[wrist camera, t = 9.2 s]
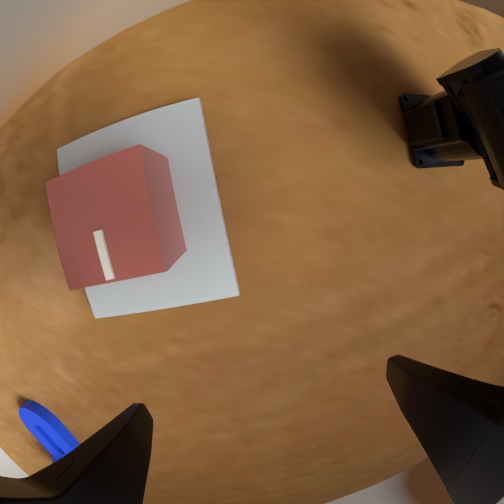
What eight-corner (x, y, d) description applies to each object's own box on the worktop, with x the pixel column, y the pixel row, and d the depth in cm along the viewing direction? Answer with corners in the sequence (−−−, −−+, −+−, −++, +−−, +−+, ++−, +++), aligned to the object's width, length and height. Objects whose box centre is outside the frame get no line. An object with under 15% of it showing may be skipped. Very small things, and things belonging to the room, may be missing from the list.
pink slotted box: (167, 157, 17) (138, 143, 11) (187, 250, 18) (165, 272, 13) (89, 183, 17) (43, 182, 11) (107, 267, 18) (68, 291, 13)
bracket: (119, 480, 26) (105, 520, 17) (85, 474, 26) (70, 509, 18) (44, 399, 22) (12, 441, 14) (17, 399, 23) (-12, 433, 14)
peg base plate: (201, 102, 17) (190, 77, 12) (239, 289, 20) (239, 316, 15) (64, 151, 17) (29, 144, 12) (101, 312, 20) (74, 338, 15)
